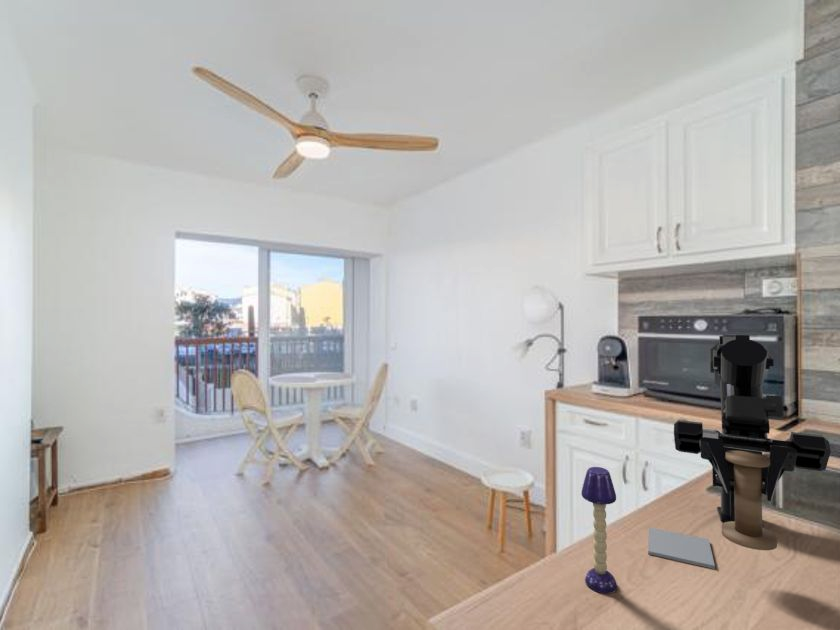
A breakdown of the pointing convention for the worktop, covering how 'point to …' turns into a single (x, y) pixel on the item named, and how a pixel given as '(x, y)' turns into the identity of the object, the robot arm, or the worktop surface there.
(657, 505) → the worktop surface
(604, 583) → the toy lamp
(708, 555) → the grey mat
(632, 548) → the worktop surface
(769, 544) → the walnut stool
